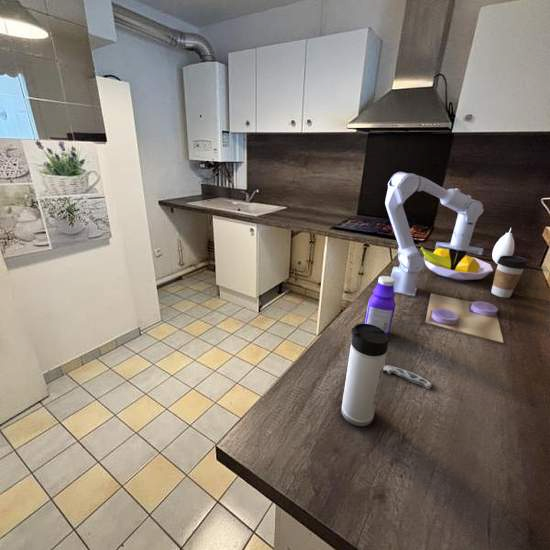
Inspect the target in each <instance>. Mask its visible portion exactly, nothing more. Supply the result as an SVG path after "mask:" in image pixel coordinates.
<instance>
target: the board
mask: <svg viewBox="0 0 550 550" xmlns="http://www.w3.org/2000/svg"><path fill="white" fill-rule="evenodd" d="M473 302H474V301H468V300H464V299H459V298H454V297H450V296H445V295H441V294H436V293H431V292H430V297H429V301H428V306H427V311H426V317H425V320H424V321H425V323H426V324H430V325H432V326H433V325H434V326H438V327H441V328H444V329H445V328H446V329H449V330H453V331H457V332H460V333H463V334H468V335H471V336H475V337H478V338H483V339H487V340H491V341H495V342H499V343H502V344H503V343H505V342H504V338H503V334H502V330H501V326H500V322H499V318H498V313H497V314H496V315H495V316H484V315H480V314H478V313H475V312H474V311H472V310H471V305H472V303H473ZM437 308H442V309H447V310H450V311H452V312H454V313H456V314H457V315H458V320H457V323H456V324H454V325H446V324H442V323H439V322H437V321H435V320H434V319H433V318H432V317H431V315H432V311H433V310H434V309H437Z"/></svg>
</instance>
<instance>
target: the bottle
mask: <svg viewBox="0 0 550 550" xmlns="http://www.w3.org/2000/svg"><path fill="white" fill-rule="evenodd" d="M394 281H395V280H394V279H393V278H391V276H388V275H380V276H379V277H378V282H377V285H375V287H374V289H373V290H372V293H373V294H372V295H371V296H370V297H369V299H368V304H367V309H366V315H365V319H364V320H365V321H364V324H370V325H374V326H376V327H379V328H381V329H382V330H383V331H384V333H386V334H387V335H388V336H389V334H390V332H391V329H392V323H393V318H394V314H395V310H396V307H397V305H396V301H395V296H396V292H394Z"/></svg>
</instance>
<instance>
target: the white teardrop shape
mask: <svg viewBox="0 0 550 550" xmlns="http://www.w3.org/2000/svg"><path fill="white" fill-rule="evenodd" d="M514 253H515V239H514V236H513V233H512V227H510V229H509V231H508V232H505V234H504V235H502V236H501V237H500V238H499V239H498V241H497V242H496V243H495V245H494V246H493V249H492V253H491V255H492V256H491V258H492V260H493V262H494V263H495V264H496V265H498V263H497V262H498V260H499V258H500V256H514Z"/></svg>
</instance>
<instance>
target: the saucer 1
mask: <svg viewBox="0 0 550 550" xmlns="http://www.w3.org/2000/svg"><path fill="white" fill-rule="evenodd" d="M431 317H432V318H433V319H434V320H435V321H437V322H439V323H442V324H446V325H454V324H456V323H457V320H458V315H457V314H456V313H454V312H452V311H450V310H447V309H442V308H437V309H434V310H433V311H432V315H431Z"/></svg>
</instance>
